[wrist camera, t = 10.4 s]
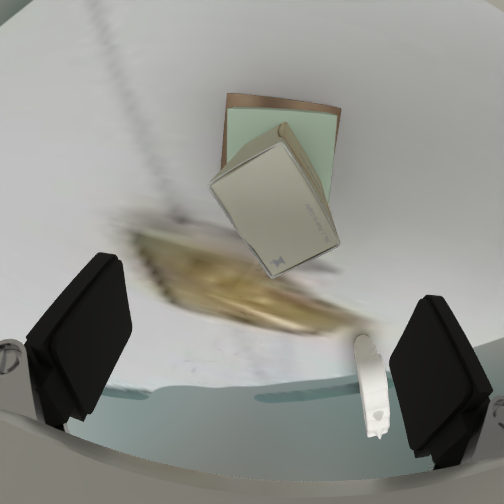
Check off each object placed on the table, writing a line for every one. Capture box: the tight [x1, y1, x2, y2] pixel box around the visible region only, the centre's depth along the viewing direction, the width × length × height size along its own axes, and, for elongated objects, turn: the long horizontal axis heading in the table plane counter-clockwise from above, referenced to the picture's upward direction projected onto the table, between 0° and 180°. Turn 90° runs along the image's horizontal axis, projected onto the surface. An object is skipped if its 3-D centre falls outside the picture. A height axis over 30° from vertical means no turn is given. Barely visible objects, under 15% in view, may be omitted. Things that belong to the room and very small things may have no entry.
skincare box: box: [208, 122, 340, 279], centre depth 20 cm, size 6×4×12 cm
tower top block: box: [227, 107, 337, 203], centre depth 28 cm, size 9×9×4 cm
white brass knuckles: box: [354, 335, 390, 439], centre depth 42 cm, size 3×18×15 cm, turn 19°
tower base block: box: [221, 93, 341, 170], centre depth 32 cm, size 11×11×4 cm
